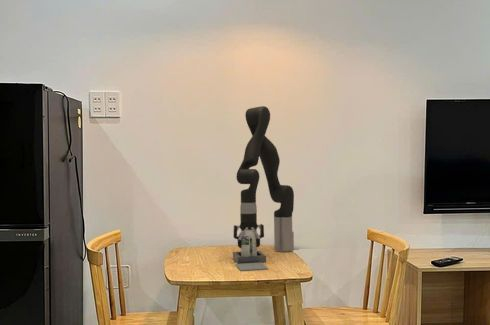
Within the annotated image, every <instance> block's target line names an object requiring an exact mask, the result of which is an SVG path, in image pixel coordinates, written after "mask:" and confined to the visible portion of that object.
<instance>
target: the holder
mask: <svg viewBox="0 0 490 325" xmlns="http://www.w3.org/2000/svg"><path fill="white" fill-rule="evenodd" d="M232 259H233V260H234V261H235V264H244V263H261V262H262V263H263V264H265V263H266V264H267V255H266V254H264V253H263V252H262V251H261V250H257V256H244V257H241V251H232Z"/></svg>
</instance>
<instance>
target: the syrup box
mask: <svg viewBox="0 0 490 325" xmlns="http://www.w3.org/2000/svg"><path fill="white" fill-rule="evenodd" d="M257 229H258V228H257ZM257 229H256V232H257V233H258V231H257ZM243 231H244V230H243ZM243 231H242V230H241V229H240V232H241V233H242V232H243ZM257 251H258V247H257V237H256V235H255V234H254V230H251V229H250V230H245V234H244V236H243V237H242V238H241V248H240V252H241V257H244V256H257Z"/></svg>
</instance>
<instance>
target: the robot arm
mask: <svg viewBox="0 0 490 325" xmlns="http://www.w3.org/2000/svg"><path fill="white" fill-rule="evenodd" d="M244 116H245V121H246V124H247V128H248V129H249V131H250V133H251V137H250V139H249V141H248V142H247V144H246V147H245V149H244V155H243V158H242V162H241V164H240V165H239V168H238V170H237V172H236V181H237V183H239V184H240V185H249V186H248V188H246V189H245V188H244V189H242V190H240V207H239V208H240V209H239V210H240V211H239V213H240V223H239V225H236V224H234V225H233V239H235V240H237V247H238V248H239V249H241V238H242V237H243V236H244V234H245V230H250V229H251V230H254V234H255V235H256V237H257V248H259V247H260V246H261V239H262V238H265V227H264V224H263V223H260V224H258V223H257V222H258V221H257V219H258V218H257V216H258V215H257V189H258V185H259V181H260V173H259V171H258V170H257V169H256V168H253V167H256V166H257V165H258V164H259V159H260V162H261V165H262V168H263V171H264V175H265V178H266V182H267V186H268V191H269V196H270V198H271V201H273V202H274V203H277V204H280V205H279V206H280V207H279V208H278V209H276V210H274V212H273V226H274V227H273V233H274V234H273V236H274V237H273V238H274V240H273V242H274V244H273V245H274V247H273V248H274V249H273V250H274V251H276V252H278V253H279V252H281V253H283V252H284V253H287V252H293V251H295V248H294V247H295V245H294V244H295V241H294V240H295V237H294V236H295V235H294V231H293V213H294V208H295V207H294V205H295V204H294V201H295V194H294V193H295V192H294V189H293V187H292V186H291V185H287V184H280V179H279V176H278V171H279V167H280V162H281V159H280V156H279V153H278V149H277V147H276V146H275V144H274V143H273V142H272V141H271V140H270V139H269V138H268V137H267V136H266V133H267V130H268V127H269V125H270V121H271V112H270V109H269V108H268V106H264V105H263V106H255V107H250V108H248V109H246V111H245V115H244ZM239 229H240V232H239V234H238V231H239ZM256 229H259V231H260V232H259V233H258V231H257V232H256ZM241 230H242V231H243V230H244V231H243V232H242V233H241Z"/></svg>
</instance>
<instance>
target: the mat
mask: <svg viewBox="0 0 490 325" xmlns="http://www.w3.org/2000/svg"><path fill="white" fill-rule="evenodd" d="M234 265H235V266H236V268H237V269H238V271H240V272H249V271H251V272H253V271H265V270H269V268H268V266H266V265H265V263H262V262H261V263H244V264H237V263H235V264H234Z"/></svg>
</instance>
